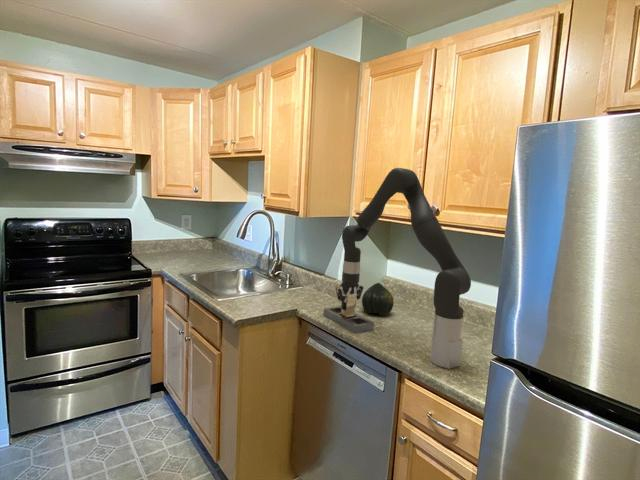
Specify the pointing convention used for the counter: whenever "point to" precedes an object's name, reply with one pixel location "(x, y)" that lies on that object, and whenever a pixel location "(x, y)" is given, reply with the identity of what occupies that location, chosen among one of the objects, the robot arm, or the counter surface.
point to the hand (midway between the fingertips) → (348, 309)
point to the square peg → (349, 306)
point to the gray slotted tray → (349, 320)
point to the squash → (377, 300)
